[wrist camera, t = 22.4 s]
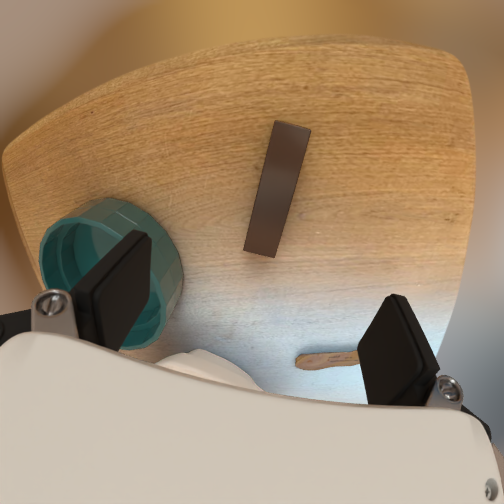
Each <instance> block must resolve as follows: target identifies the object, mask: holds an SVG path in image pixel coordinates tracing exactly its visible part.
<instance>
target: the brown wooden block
mask: <svg viewBox="0 0 504 504" xmlns="http://www.w3.org/2000/svg"><path fill="white" fill-rule="evenodd" d="M310 133H311V130H310V129H308V128H305V127H301V126H298V125H294V124H290V123H286V122H282V121H278V120H275V122H274V126H273V130H272V134H271V138H270V142H269V146H268V150H267V154H266V158H265V162H264V166H263V170H262V174H261V178H260V183H259V187H258V191H257V195H256V199H255V203H254V207H253V211H252V215H251V220H250V224H249V228H248V232H247V236H246V240H245V244H244V249H243V250H244V251H247V252H251V253H255V254H259V255H263V256H267V257H271V258H275V255H276V252H277V249H278V245H279V242H280V239H281V235H282V232H283V228H284V225H285V222H286V218H287V215H288V211H289V208H290V205H291V201H292V198H293V194H294V191H295V187H296V184H297V180H298V177H299V173H300V170H301V166H302V162H303V159H304V155H305V152H306V148H307V144H308V141H309V137H310Z"/></svg>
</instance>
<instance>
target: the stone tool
mask: <svg viewBox="0 0 504 504" xmlns="http://www.w3.org/2000/svg"><path fill="white" fill-rule="evenodd" d="M356 364H360V361H359V357H358V352H357V350H355V351H352V352H347V353H345V352H329V353H313V354H301V355H299V356H298V357H297V358H296V363H295V366H296V367H298V368H300V369H303V370H319V369H324V368H328V367H334V366H352V365H356Z"/></svg>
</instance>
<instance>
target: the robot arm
mask: <svg viewBox="0 0 504 504" xmlns="http://www.w3.org/2000/svg"><path fill="white" fill-rule="evenodd" d="M151 248H152V238H150V237H148V233H146V232H142V231H139V230H135V229H133V230H132V231H131V232H129V233H128V234H127V235H126V236H125V237H124V238H123V239H122V240H121V241H120V242H119V243H117V244H116V245H115V246H114V247H113V248H112V249H111V250H110V251H109V252H108V253H107V254H106V255H105V256H104V257H103V258H102V259H101V260H100V261H99V262H98V263H97V264H96V265H95V266H94V267H93V268H92V269H91V270H90V271H89V272H88V273H87V274H86V275H85V276H84V277H83V278H82V279H81V280H80V281H79V282H78V283H77V284H76V285H75V286H74V287H73V288H72V289H71V290H70V291H69V292H66V291H64V290H61V289H48V290H44V291H42V292H40V293H39V294H38V295H37V296H36V297H35V298H34V300H33V301H32V305H31V309H29V310H24V311H19V312H15V313H9V314H4V315H0V504H504V457H503V456H502V454H501V453H500V452H499V450H498V449H497V447H496V446H495V444H494V443H492V444H491V431H490V428H489V426H488V425H487V424H486V423H484V422H483V421H482V420H481V419H479V418H478V417H477V416H476V415H474V414H473V413H472V412H470V411H469V410H468V409H467V408H466V407H464V406H463V405H462V402H463V391H462V388H461V386H460V385H459V384H458V382H457V381H456V380H455V379H453V378H452V377H450V376H447V375H441V376H439V377H438V378H437V377H436V373H437V372H438V371H439V370H440V367H439V365H438V363H437V360H436V358H435V356H434V354H433V351H432V349H431V347H430V345H429V343H428V341H427V339H426V336H425V334H424V332H423V330H422V328H421V326H420V324H419V322H418V320H417V318H416V316H415V314H414V312H413V310H412V308H411V306H410V305H409V303H408V301H407V299H406V297H405V296H401V295H397V294H391V295H390V296H387V297H386V298H385V300H384V301H383V303H382V305H381V307H380V308H379V310H378V312H377V314H376V315H375V317H374V319H373V321H372V322H371V324H370V326H369V327H368V329H367V331H366V332H365V334H364V335H363V337H362V339H361V340H360V342H359V344H358V347H357V352H358V357H359V361H360V366H361V371H362V375H363V380H364V385H365V390H366V395H367V400H368V404H353V403H342V402H332V401H323V400H315V399H307V398H300V397H293V396H286V395H280V394H274V393H269V392H263V391H258V390H253V389H248V388H243V387H238V386H234V385H229V384H225V383H221V382H216V381H212V380H208V379H204V378H200V377H197V376H193V375H189V374H186V373H182V372H179V371H175V370H172V369H168V368H165V367H162V366H159V365H156V364H152V363H149V362H146V361H143V360H140V359H137V358H134V357H131V356H128V355H125V354H122V353H119V352H118V351H119V349H120V347H121V346H122V344H123V342H124V341H125V339H126V337H127V335H128V334H129V332H130V330H131V329H132V327H133V325H134V324H135V322H136V320H137V319H138V317H139V316H140V314H141V312H142V311H143V309H144V307H145V306H146V304H147V302H148V300H149V296H150V269H151Z"/></svg>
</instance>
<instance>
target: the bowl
mask: <svg viewBox="0 0 504 504" xmlns="http://www.w3.org/2000/svg"><path fill="white" fill-rule="evenodd" d="M154 364H156V365H159V366H162V367H165V368H168V369H172V370H175V371H179V372H182V373H186V374H189V375H193V376H197V377H200V378H204V379H208V380H212V381H216V382H221V383H225V384H229V385H234V386H238V387H243V388H248V389H253V390H258V391H263V392H265V391H264V390H262V389H261V388H260V387H258V386H257V385H256V384H255V382H254V381H253V379H252V378H251V377H250V376H249V375H248V374H247V373H246V372H244V371H243V370H242V369H240V368H239V367H238V366H236V365H235V364H233V363H232V362H230V361H228V360H226V359H224V358H222V357H220V356H217V355H215V354H213V353H210V352H208V351H205V350H202V349H195V350H193V351H191V352H189V353H178V354H175V355H171V356H168V357H166V358H164V359H162V360H160V361H158V362H156V363H154Z"/></svg>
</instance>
